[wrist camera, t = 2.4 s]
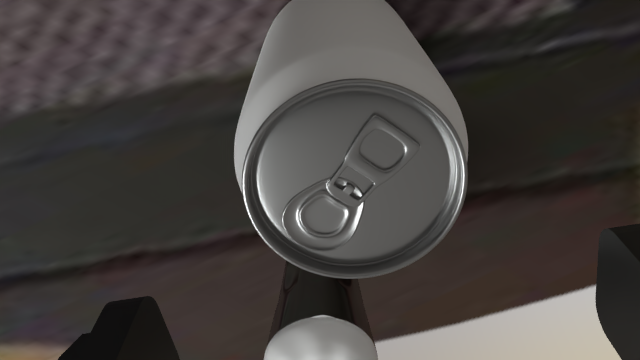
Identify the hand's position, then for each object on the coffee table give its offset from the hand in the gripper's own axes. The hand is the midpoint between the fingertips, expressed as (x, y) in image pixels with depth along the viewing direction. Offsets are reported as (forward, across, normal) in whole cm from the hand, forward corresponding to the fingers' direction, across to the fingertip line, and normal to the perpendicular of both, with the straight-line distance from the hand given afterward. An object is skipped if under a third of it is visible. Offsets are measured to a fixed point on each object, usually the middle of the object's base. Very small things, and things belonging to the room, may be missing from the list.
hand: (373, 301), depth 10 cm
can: (+16, 0, 0) cm, 16 cm away
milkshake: (+16, +3, +10) cm, 19 cm away
